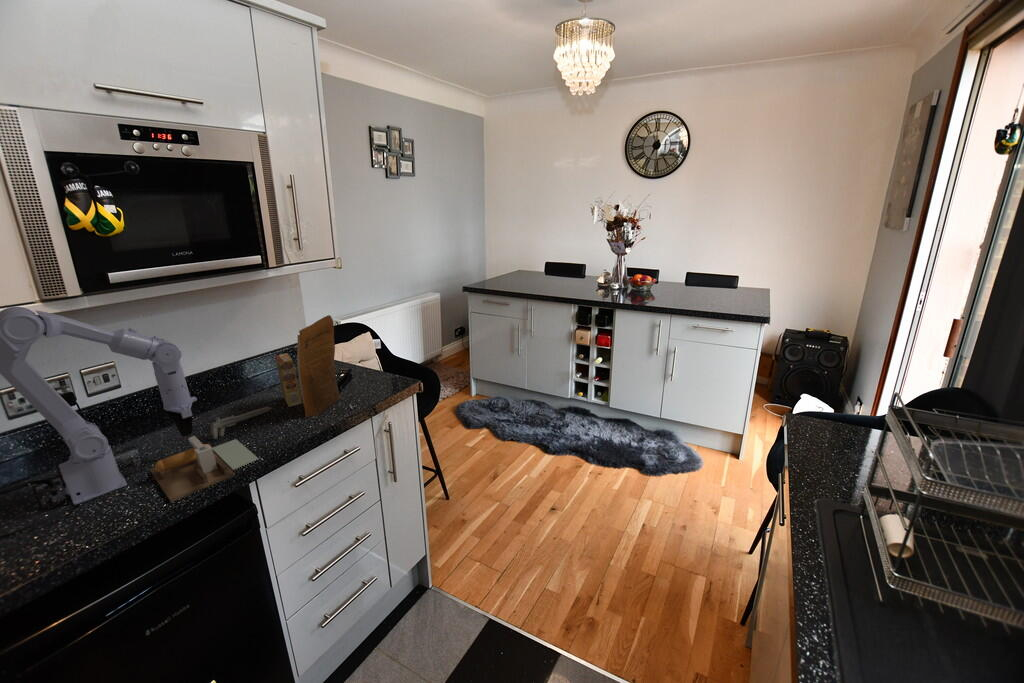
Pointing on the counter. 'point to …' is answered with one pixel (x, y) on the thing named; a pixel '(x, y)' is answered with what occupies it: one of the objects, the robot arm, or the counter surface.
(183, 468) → the clamp board
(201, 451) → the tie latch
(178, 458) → the orange sausage
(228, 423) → the caliper
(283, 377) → the candy box
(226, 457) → the mat
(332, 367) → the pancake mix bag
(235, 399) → the counter surface
